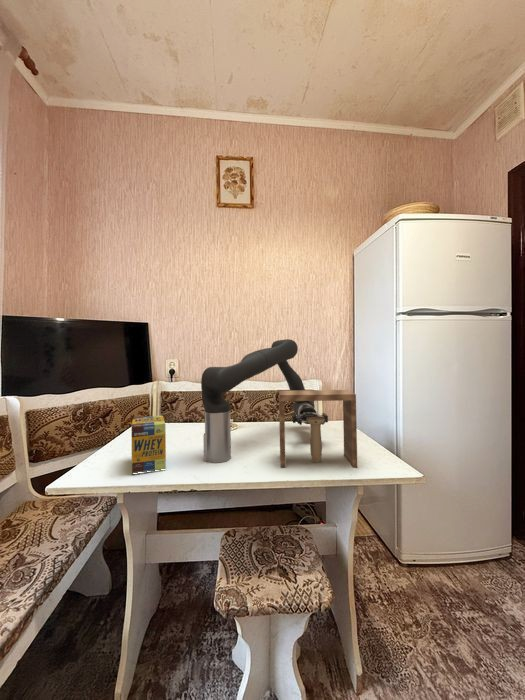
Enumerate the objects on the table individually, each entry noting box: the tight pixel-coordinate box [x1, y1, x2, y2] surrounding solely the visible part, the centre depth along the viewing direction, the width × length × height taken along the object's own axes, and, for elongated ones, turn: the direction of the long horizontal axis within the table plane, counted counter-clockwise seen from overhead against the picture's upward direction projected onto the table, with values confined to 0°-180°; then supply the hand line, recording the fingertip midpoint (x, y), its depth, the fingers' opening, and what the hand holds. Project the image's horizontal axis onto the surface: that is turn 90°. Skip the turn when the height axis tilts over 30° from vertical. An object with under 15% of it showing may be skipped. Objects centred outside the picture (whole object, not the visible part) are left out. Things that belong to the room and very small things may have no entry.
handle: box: [306, 417, 326, 463], centre depth 103 cm, size 5×6×15 cm
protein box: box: [130, 415, 167, 474], centre depth 103 cm, size 10×15×16 cm
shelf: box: [278, 389, 358, 469], centre depth 103 cm, size 25×12×24 cm, turn 88°
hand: (311, 422), depth 115 cm, fingers open, 8 cm apart
